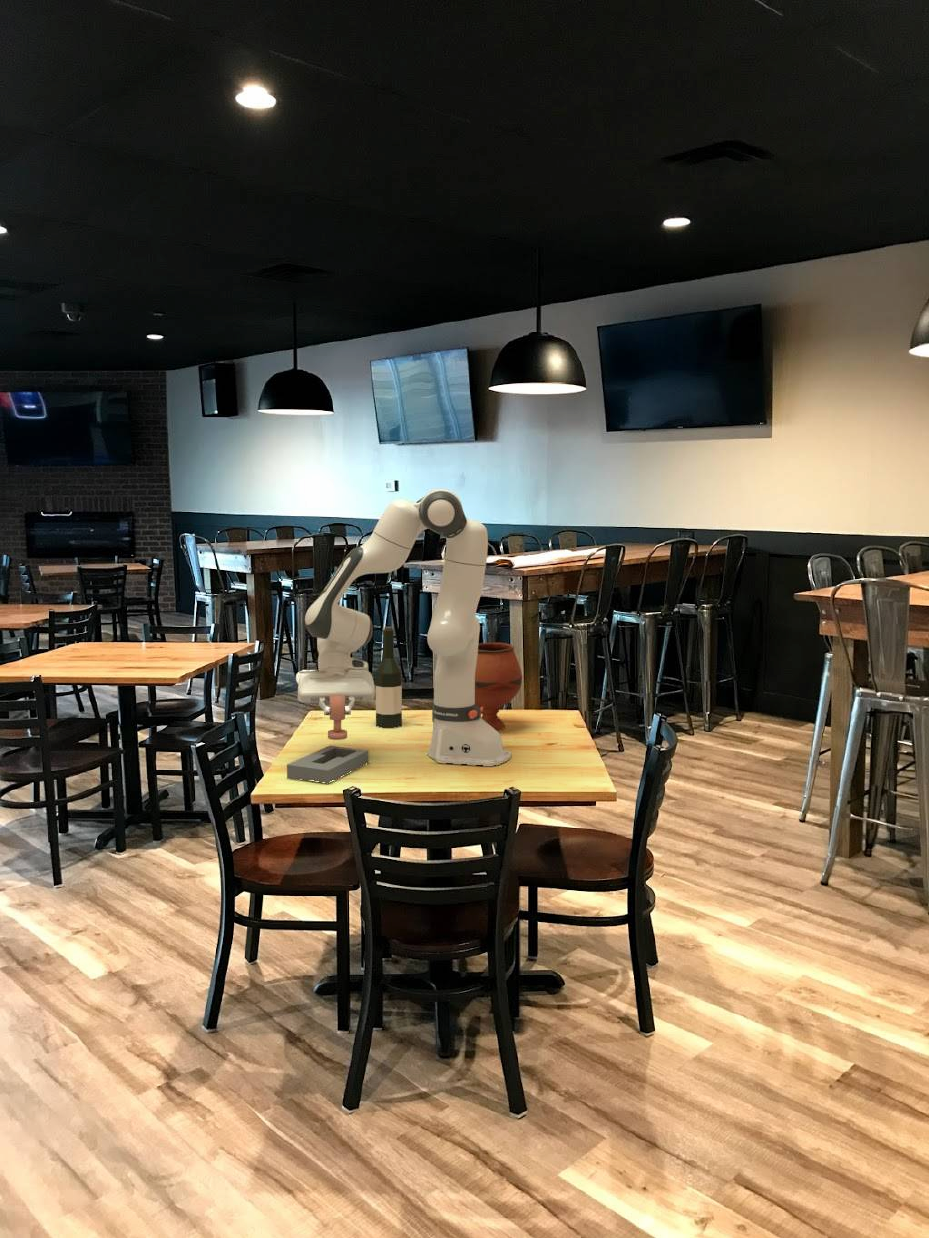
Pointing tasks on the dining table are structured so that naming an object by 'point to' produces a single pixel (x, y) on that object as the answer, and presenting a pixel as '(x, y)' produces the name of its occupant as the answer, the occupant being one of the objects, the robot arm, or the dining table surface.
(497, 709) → the goblet
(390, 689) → the wine bottle
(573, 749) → the dining table surface
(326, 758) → the keyhole plate
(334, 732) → the peg
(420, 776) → the dining table surface
